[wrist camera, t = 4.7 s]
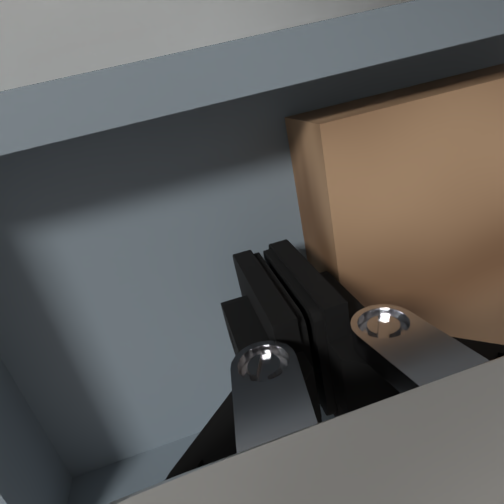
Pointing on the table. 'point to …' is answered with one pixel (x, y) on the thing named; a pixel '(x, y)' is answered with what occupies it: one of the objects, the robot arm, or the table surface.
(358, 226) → the tan square slab
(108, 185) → the blue-grey open-ended tray
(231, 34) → the table surface
